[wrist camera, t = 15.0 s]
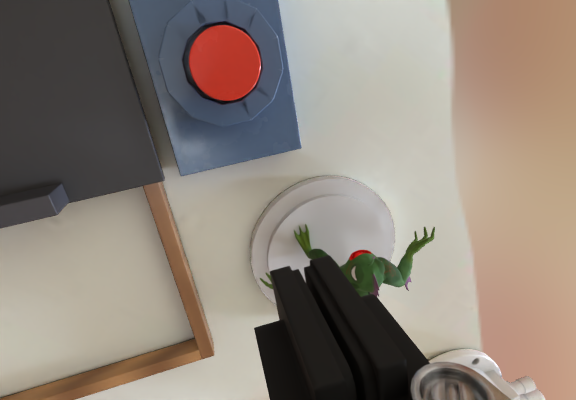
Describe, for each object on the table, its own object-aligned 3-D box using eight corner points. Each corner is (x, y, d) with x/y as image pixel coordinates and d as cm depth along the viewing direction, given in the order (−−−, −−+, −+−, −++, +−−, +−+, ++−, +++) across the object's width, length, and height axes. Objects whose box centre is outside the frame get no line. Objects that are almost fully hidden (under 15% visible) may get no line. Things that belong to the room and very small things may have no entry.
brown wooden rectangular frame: (94, -32, 20) (87, -39, 19) (213, 342, 30) (214, 355, 29) (-357, 29, 17) (-405, 26, 16) (-55, 425, 27) (-67, 445, 26)
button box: (260, -54, 22) (274, -78, 18) (293, 142, 26) (309, 154, 23) (122, -35, 21) (107, -57, 17) (181, 167, 25) (180, 185, 21)
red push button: (248, 22, 20) (253, 19, 18) (261, 91, 21) (266, 93, 20) (180, 34, 19) (179, 31, 18) (198, 103, 21) (199, 107, 19)
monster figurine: (383, 158, 29) (478, 203, 19) (395, 285, 33) (475, 371, 24) (233, 198, 27) (256, 270, 17) (267, 327, 31) (300, 438, 22)
